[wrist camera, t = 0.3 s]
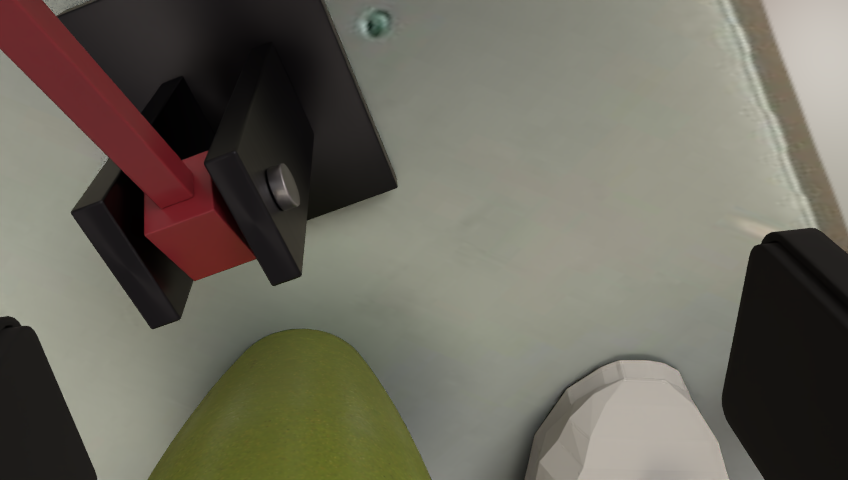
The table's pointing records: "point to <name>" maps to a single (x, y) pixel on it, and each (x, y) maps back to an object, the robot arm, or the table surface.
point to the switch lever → (127, 143)
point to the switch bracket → (229, 128)
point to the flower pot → (294, 419)
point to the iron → (626, 429)
